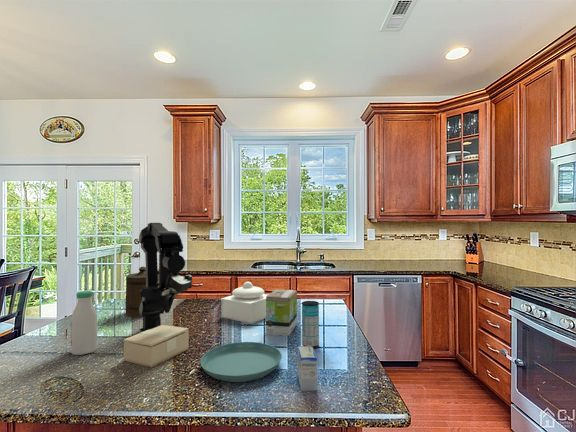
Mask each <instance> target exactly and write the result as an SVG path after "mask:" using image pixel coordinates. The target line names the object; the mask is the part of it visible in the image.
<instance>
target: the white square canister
mask: <svg viewBox="0 0 576 432" xmlns="http://www.w3.org/2000/svg"><path fill="white" fill-rule="evenodd" d="M231 294H232V295H229V296H228V295H227V296H225V297H221V298H220V301H221V318H223V319H228V320H232V321H238V322H242V323H246V324H251V325H252V324H254V323H257V322H259V321H261V320H264V319H265V320H266V296H268V295H269V294H265V290H264V289H263V288H262V287H259V286H254V285H253V283H252V282H251V281H245V282H244V283H243V284H242V286H239V287H237V288H235V289H233V290H232V292H231Z"/></svg>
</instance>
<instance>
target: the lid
mask: <svg viewBox="0 0 576 432" xmlns="http://www.w3.org/2000/svg"><path fill="white" fill-rule="evenodd" d="M185 331H189V328H188V327H182V326H173V325H166V324H161V326H158V327H155V328H153V329H150V330H146V331H141V332H139V333H137V334H135V335H132V336H129V337H127V338H124V339H123V342H124V341H125V342H131V343H137V344H143V345H149V346H153V345H155V344H158V343H160V342H162V341H165V340H167V339H169V338H172V337H174V336H176V335H178V334H181V333H183V332H185Z"/></svg>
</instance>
